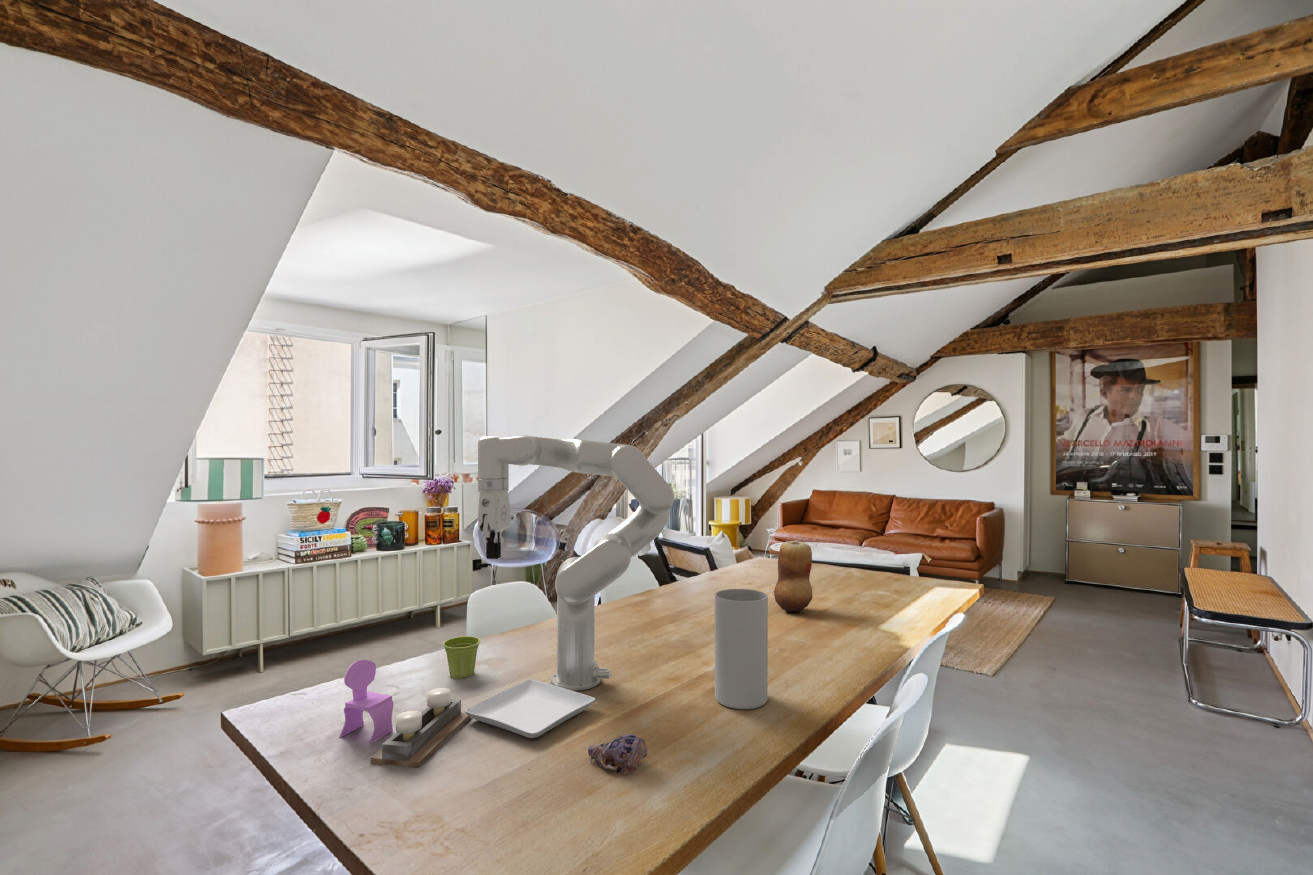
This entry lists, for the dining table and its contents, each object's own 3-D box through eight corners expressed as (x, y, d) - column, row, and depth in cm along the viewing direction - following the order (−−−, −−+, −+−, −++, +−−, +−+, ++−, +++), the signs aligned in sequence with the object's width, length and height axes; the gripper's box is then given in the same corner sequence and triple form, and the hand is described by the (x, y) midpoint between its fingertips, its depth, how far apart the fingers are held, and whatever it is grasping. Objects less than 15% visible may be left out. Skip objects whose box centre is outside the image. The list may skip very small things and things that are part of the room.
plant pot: (469, 682, 164) (469, 648, 164) (436, 679, 165) (436, 646, 165) (486, 669, 173) (486, 637, 173) (454, 667, 175) (454, 635, 175)
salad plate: (534, 749, 129) (534, 732, 129) (461, 724, 141) (461, 708, 141) (598, 711, 147) (598, 696, 147) (529, 691, 159) (529, 677, 159)
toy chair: (368, 746, 130) (368, 672, 130) (335, 739, 133) (335, 666, 133) (398, 728, 138) (398, 658, 138) (366, 722, 141) (366, 654, 141)
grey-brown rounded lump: (580, 765, 123) (580, 733, 123) (604, 748, 129) (604, 718, 129) (633, 783, 116) (633, 749, 116) (655, 764, 123) (655, 732, 123)
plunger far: (454, 712, 141) (454, 688, 141) (443, 721, 136) (443, 697, 136) (434, 710, 142) (434, 687, 142) (422, 720, 137) (422, 695, 137)
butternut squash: (804, 618, 222) (804, 546, 222) (768, 612, 229) (768, 542, 229) (817, 609, 234) (818, 540, 234) (783, 604, 241) (783, 537, 241)
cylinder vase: (771, 693, 157) (771, 591, 157) (762, 713, 145) (762, 603, 145) (721, 686, 161) (721, 587, 161) (709, 706, 149) (709, 598, 149)
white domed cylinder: (426, 737, 129) (426, 711, 129) (413, 748, 124) (413, 721, 124) (404, 735, 130) (404, 709, 130) (390, 746, 125) (390, 720, 125)
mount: (470, 717, 143) (471, 700, 143) (418, 767, 121) (418, 747, 121) (429, 714, 145) (429, 697, 145) (370, 762, 123) (370, 743, 123)
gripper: (495, 487, 154) (495, 564, 154) (518, 483, 169) (518, 553, 169) (466, 487, 155) (466, 563, 155) (491, 483, 170) (491, 552, 170)
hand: (493, 557), depth 162 cm, fingers closed
